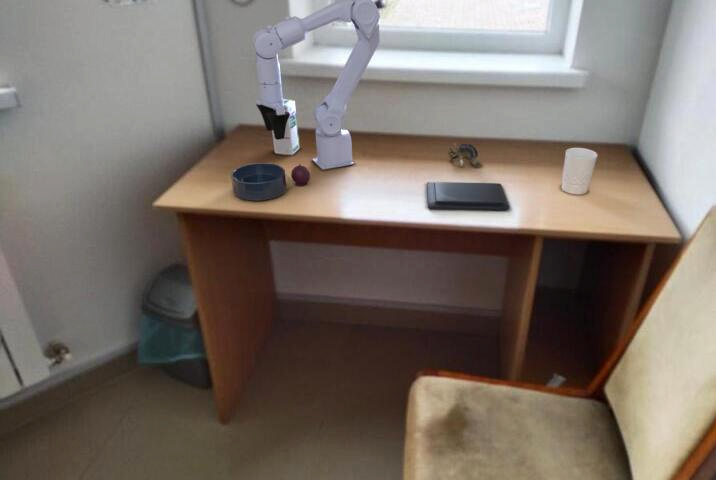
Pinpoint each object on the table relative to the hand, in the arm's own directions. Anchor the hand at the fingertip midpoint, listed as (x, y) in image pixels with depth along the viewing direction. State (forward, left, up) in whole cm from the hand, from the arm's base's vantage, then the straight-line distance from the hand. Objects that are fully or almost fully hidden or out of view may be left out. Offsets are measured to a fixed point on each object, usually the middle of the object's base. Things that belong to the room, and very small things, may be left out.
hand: (275, 134), depth 149 cm
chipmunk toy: (-48, +20, -10) cm, 53 cm away
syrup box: (-6, -11, -10) cm, 16 cm away
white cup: (-65, +47, -10) cm, 81 cm away
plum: (-2, +13, -9) cm, 16 cm away
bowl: (+9, +13, -9) cm, 18 cm away
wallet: (-36, +39, -10) cm, 54 cm away
